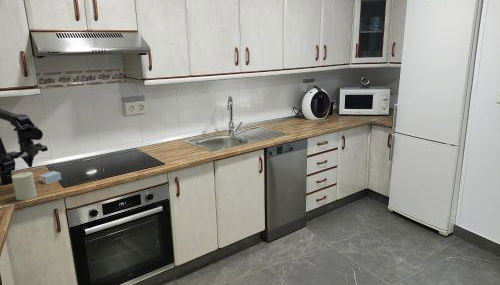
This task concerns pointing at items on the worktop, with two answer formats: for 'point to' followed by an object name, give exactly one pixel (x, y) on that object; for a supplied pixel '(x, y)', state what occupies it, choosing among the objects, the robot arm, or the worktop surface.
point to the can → (24, 185)
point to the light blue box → (50, 177)
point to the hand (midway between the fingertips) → (30, 167)
